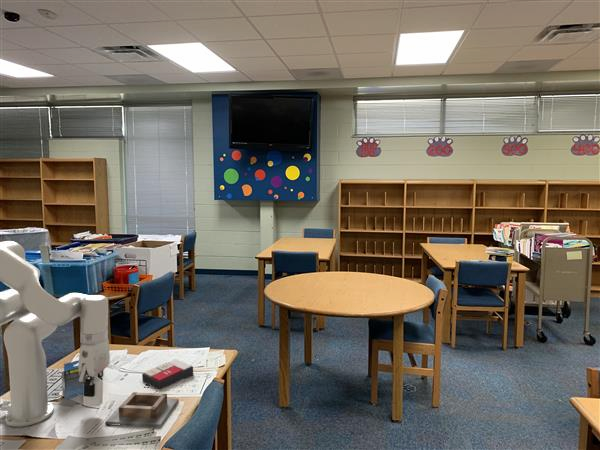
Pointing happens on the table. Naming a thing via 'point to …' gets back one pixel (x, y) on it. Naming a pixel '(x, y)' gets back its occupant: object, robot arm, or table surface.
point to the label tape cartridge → (71, 380)
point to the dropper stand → (143, 410)
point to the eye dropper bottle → (98, 396)
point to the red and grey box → (167, 374)
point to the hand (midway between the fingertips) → (93, 392)
